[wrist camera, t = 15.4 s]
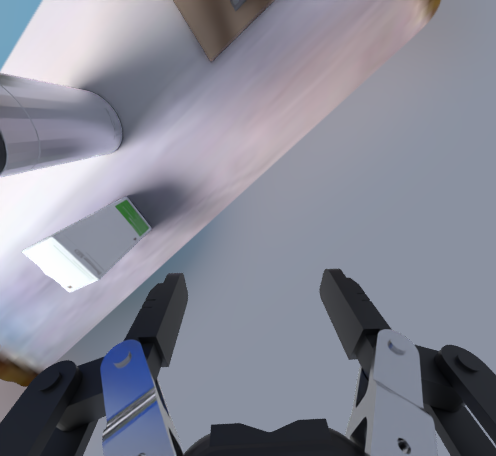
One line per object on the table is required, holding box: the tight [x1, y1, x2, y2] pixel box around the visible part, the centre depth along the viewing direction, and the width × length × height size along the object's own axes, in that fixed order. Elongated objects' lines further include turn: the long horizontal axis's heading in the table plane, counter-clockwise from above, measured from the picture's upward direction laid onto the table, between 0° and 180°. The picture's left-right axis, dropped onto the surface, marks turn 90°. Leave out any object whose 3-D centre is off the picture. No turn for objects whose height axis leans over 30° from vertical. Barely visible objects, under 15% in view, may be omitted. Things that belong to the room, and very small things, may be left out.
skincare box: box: [22, 196, 152, 292], centre depth 32 cm, size 8×7×16 cm
